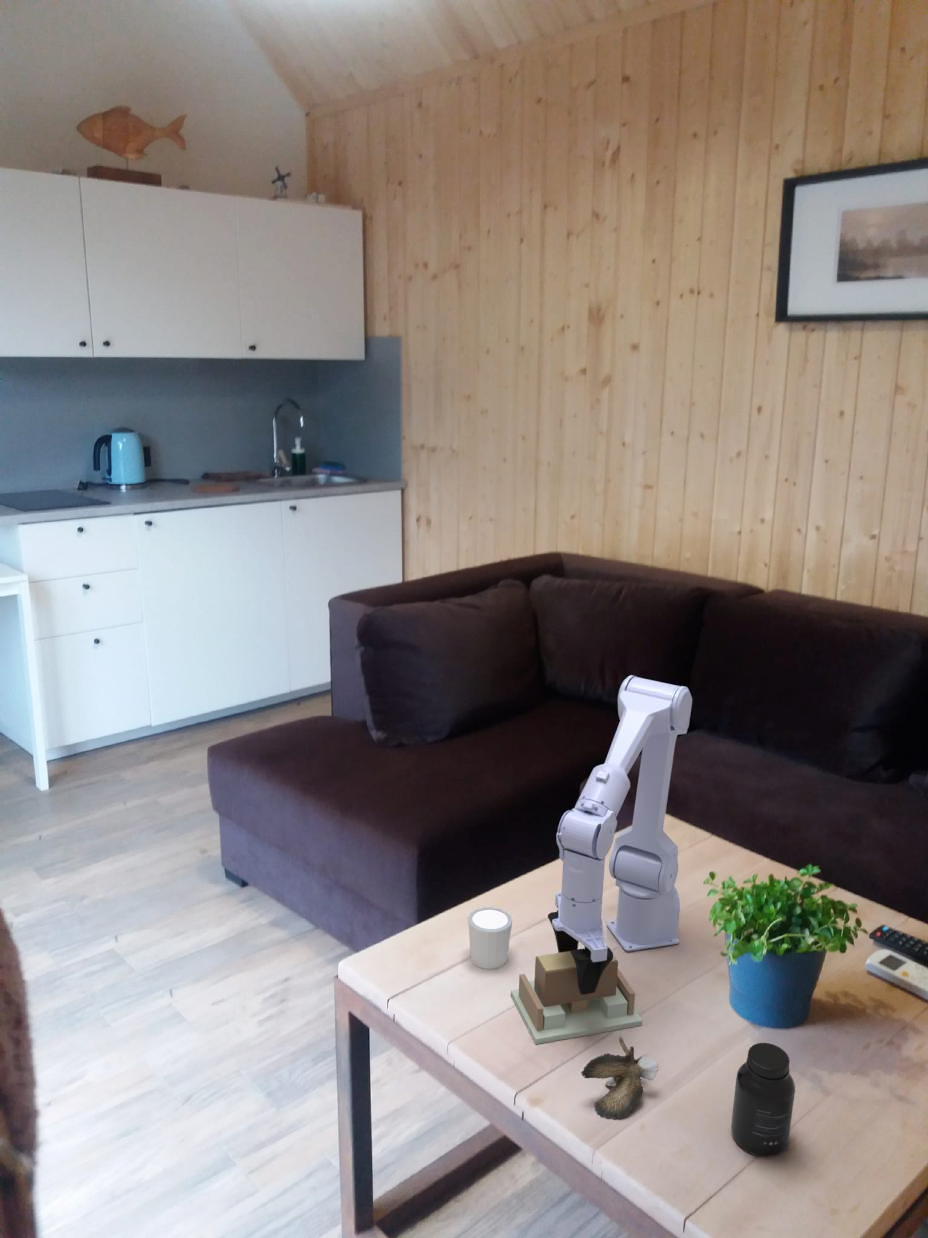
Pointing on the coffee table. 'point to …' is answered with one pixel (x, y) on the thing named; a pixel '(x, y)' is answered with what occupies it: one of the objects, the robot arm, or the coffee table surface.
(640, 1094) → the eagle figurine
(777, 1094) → the supplement bottle
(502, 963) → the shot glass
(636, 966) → the coffee table surface
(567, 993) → the tan rectangular box
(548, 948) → the coffee table surface
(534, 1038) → the display cradle
